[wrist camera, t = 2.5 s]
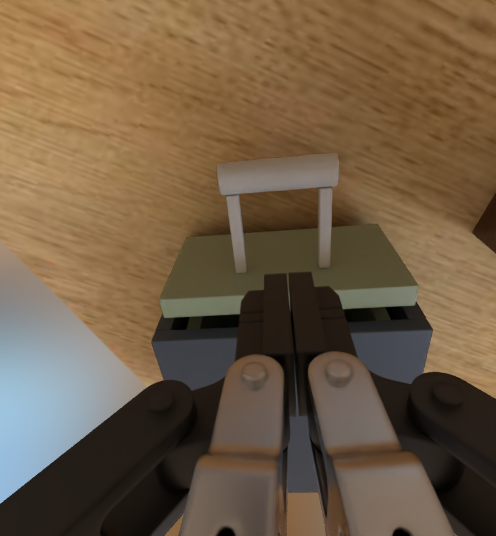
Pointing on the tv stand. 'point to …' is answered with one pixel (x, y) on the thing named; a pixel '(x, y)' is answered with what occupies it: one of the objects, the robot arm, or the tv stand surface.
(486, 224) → the stand
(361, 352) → the cabinet
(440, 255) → the tv stand surface
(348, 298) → the drawer
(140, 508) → the robot arm
